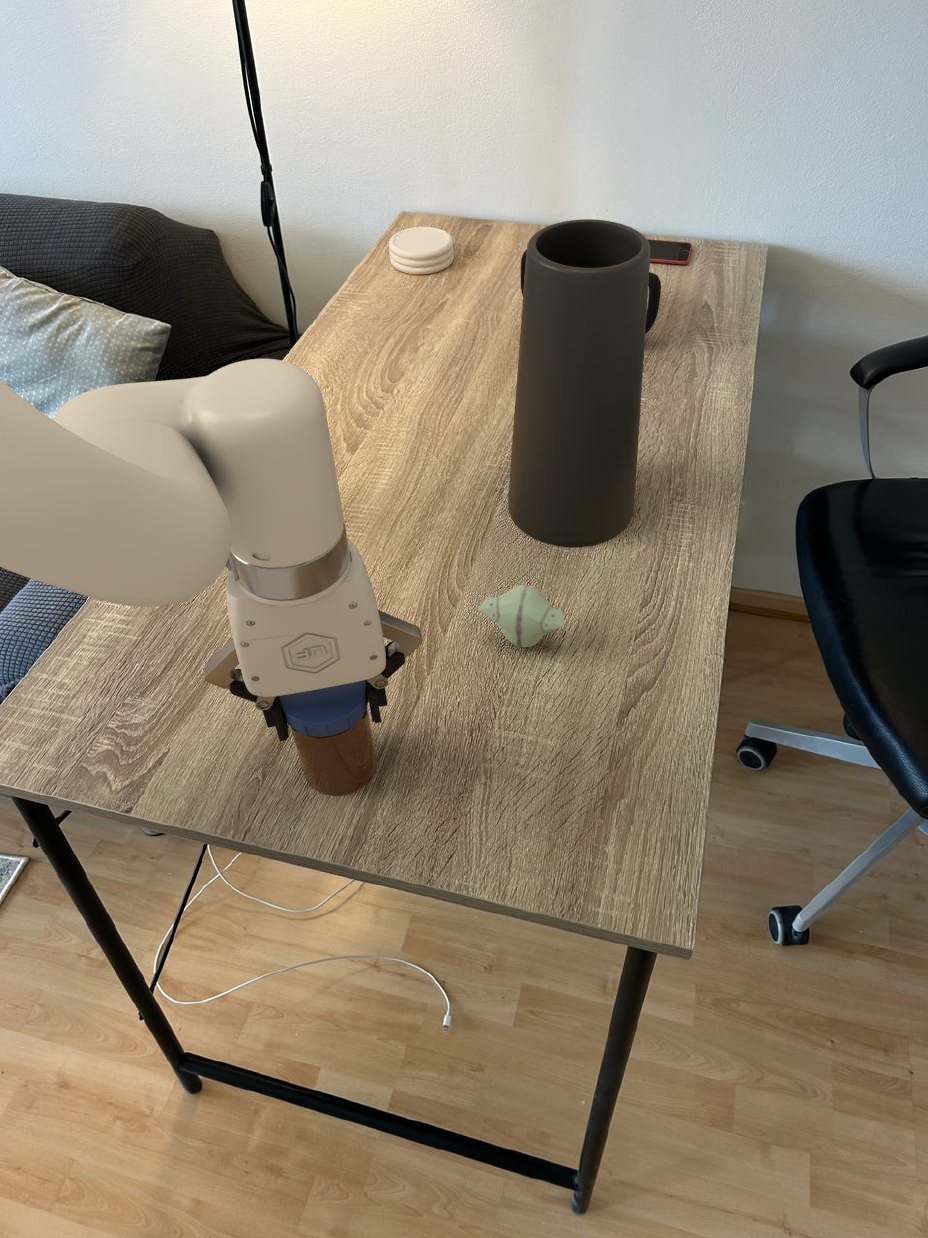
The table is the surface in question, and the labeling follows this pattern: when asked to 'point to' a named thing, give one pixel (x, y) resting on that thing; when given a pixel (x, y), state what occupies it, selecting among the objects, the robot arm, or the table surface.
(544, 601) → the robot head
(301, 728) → the lid
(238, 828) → the table surface
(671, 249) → the smartphone
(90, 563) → the robot arm
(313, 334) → the table surface
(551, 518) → the vase
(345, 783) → the jar
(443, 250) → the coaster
